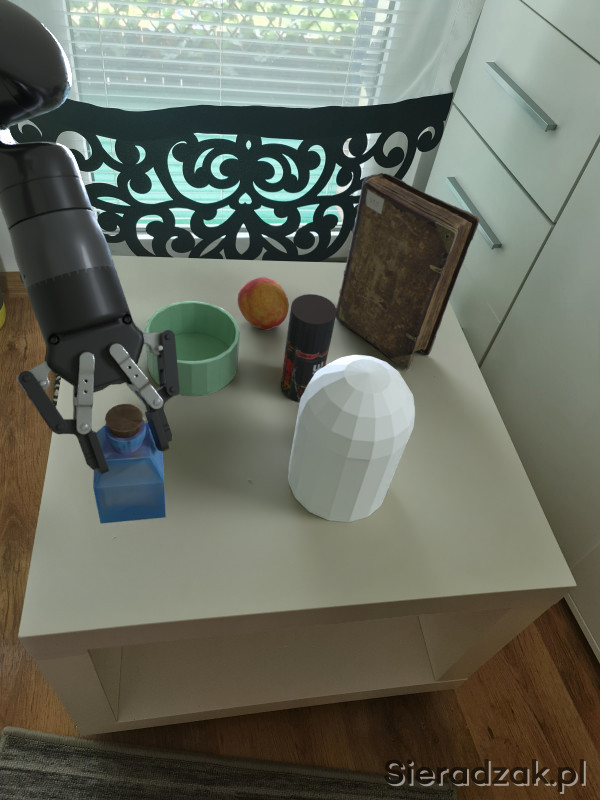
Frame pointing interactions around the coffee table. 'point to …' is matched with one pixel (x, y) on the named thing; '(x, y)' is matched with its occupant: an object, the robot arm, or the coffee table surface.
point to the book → (402, 266)
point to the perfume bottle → (129, 469)
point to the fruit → (263, 303)
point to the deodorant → (306, 342)
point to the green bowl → (198, 345)
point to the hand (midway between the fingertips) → (134, 459)
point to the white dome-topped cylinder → (349, 437)
